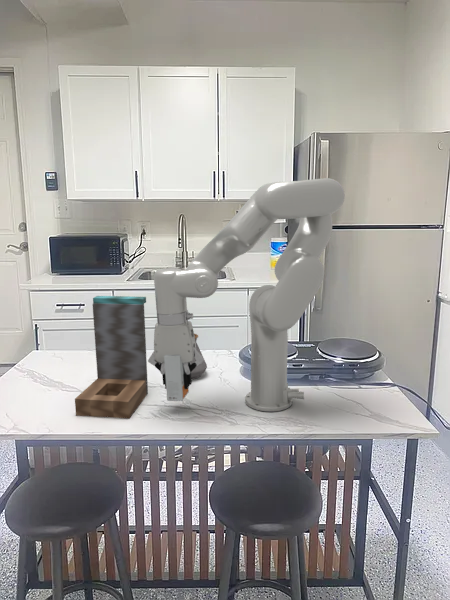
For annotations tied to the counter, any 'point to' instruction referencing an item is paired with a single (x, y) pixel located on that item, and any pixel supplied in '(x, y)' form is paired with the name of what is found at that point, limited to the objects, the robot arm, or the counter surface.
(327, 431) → the counter surface
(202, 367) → the coffee pot
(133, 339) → the socket station
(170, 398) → the skincare box
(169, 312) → the robot arm
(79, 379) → the counter surface
